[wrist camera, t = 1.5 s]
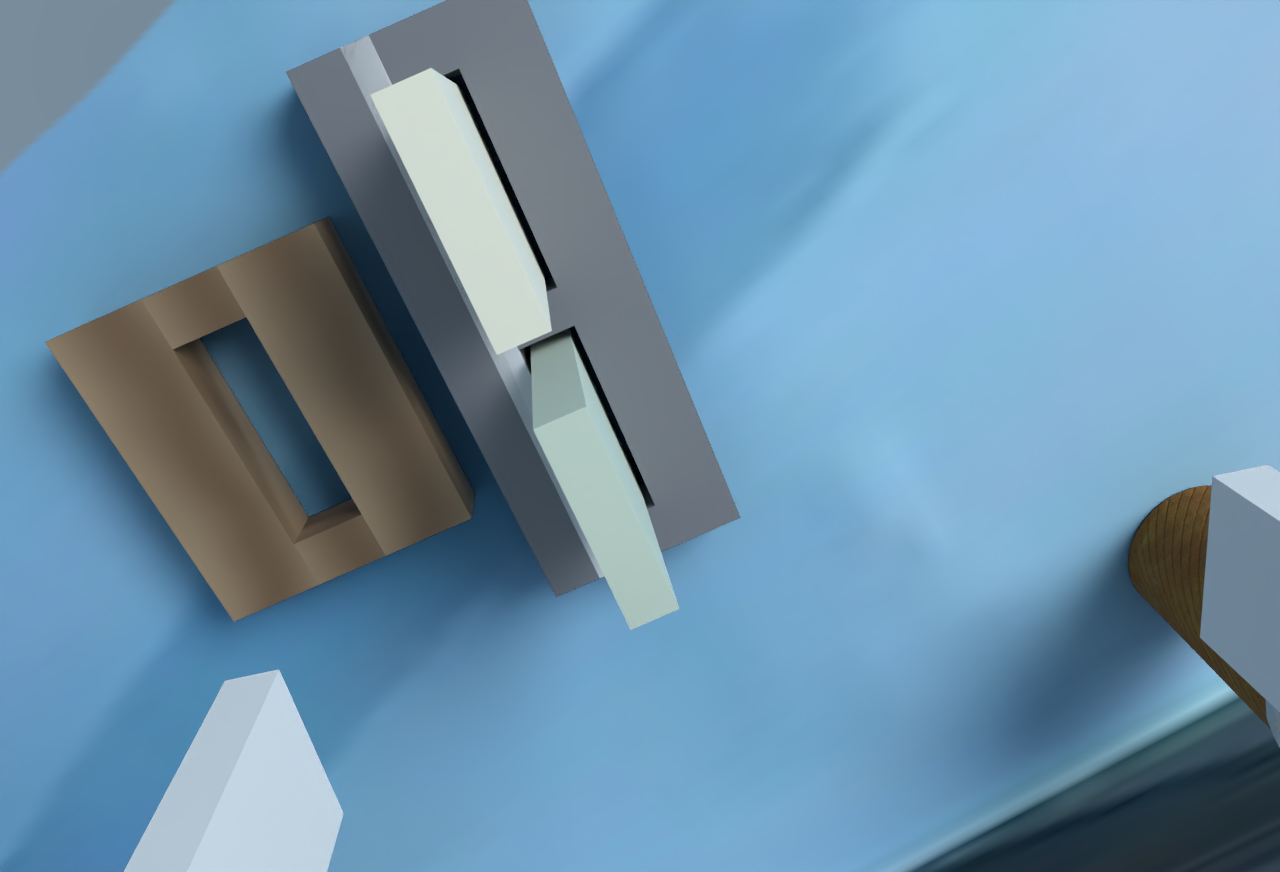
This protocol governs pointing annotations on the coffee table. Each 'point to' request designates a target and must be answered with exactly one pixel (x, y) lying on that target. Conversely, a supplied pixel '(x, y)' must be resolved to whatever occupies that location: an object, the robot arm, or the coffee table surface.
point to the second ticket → (598, 479)
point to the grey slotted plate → (571, 245)
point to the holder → (229, 444)
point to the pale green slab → (468, 205)
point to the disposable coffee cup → (1186, 582)
